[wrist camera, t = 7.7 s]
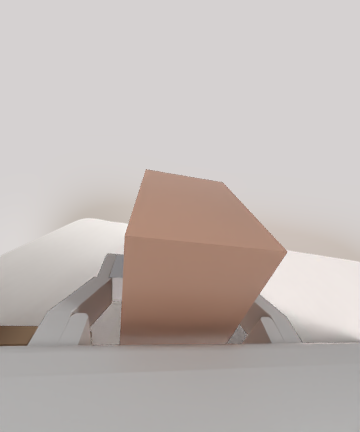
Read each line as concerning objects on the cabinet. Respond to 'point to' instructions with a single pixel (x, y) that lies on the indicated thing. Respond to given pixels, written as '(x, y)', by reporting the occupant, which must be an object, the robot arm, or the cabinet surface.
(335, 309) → the cabinet surface
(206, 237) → the peach rectangular block
